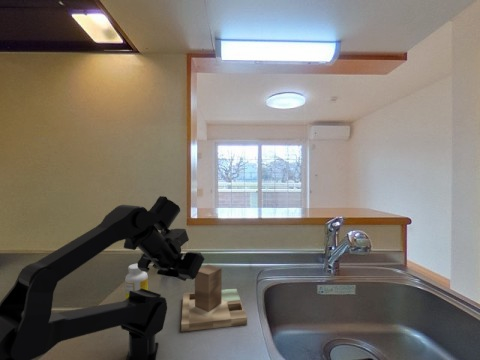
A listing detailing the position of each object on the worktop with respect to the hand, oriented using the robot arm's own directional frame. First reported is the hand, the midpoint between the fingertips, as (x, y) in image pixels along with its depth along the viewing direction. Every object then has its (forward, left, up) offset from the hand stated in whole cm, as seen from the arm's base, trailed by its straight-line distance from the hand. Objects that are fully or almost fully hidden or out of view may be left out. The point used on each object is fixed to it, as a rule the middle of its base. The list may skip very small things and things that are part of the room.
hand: (185, 279), depth 70 cm
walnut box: (+6, -7, -11) cm, 15 cm away
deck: (+7, -8, -13) cm, 17 cm away
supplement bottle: (+14, +16, -13) cm, 25 cm away
